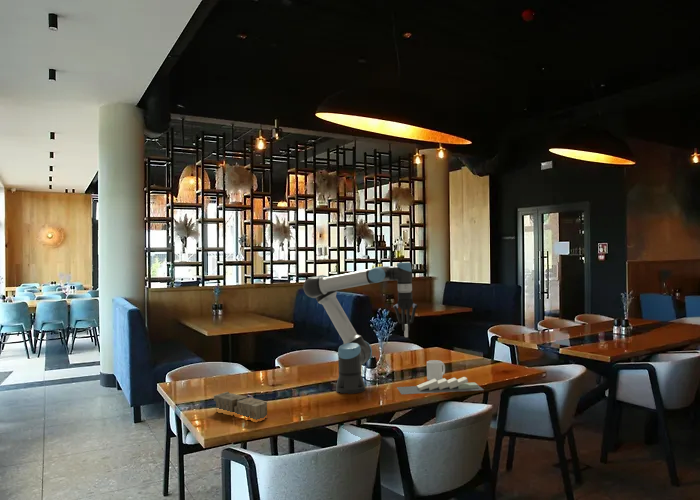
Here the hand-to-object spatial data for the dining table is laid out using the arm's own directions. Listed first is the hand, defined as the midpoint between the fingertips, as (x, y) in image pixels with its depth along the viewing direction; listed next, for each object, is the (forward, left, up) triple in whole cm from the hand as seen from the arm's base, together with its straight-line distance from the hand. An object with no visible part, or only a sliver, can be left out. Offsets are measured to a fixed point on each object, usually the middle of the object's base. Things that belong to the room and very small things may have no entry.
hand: (406, 336), depth 280 cm
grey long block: (-82, -34, -27) cm, 92 cm away
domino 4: (+20, -8, -25) cm, 33 cm away
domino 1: (+4, -8, -25) cm, 27 cm away
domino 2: (+9, -8, -25) cm, 28 cm away
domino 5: (+24, -8, -25) cm, 36 cm away
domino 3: (+14, -8, -25) cm, 30 cm away
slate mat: (+15, -8, -26) cm, 31 cm away
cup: (+19, +13, -27) cm, 35 cm away
